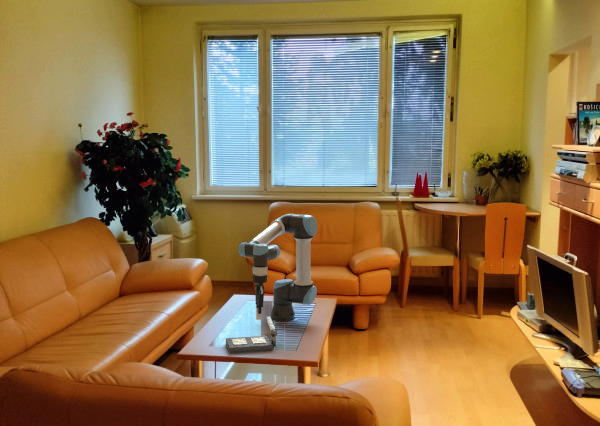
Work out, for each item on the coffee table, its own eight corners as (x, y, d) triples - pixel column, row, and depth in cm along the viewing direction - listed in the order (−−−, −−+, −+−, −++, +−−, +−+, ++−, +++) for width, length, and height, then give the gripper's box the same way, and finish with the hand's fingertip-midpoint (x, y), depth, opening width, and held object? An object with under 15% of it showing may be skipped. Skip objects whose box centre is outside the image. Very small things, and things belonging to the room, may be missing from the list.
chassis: (272, 340, 287) (273, 330, 287) (278, 350, 274) (279, 339, 273) (225, 343, 281) (225, 333, 280) (229, 353, 267) (229, 343, 267)
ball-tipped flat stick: (277, 335, 278) (277, 330, 278) (271, 336, 278) (271, 331, 278) (271, 320, 303) (271, 315, 303) (265, 320, 303) (265, 316, 303)
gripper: (250, 271, 279) (249, 315, 282) (255, 277, 267) (254, 323, 269) (264, 271, 281) (263, 315, 284) (269, 277, 269) (268, 322, 271)
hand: (258, 319), depth 277 cm, fingers closed
